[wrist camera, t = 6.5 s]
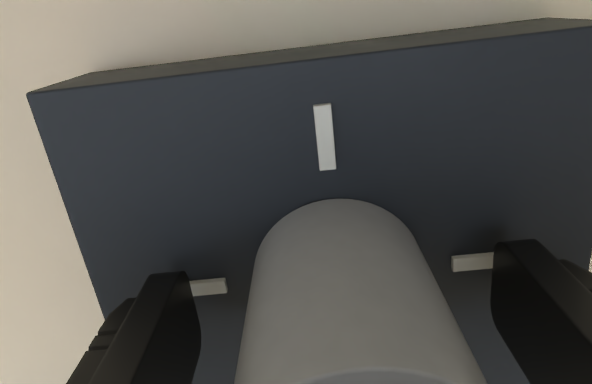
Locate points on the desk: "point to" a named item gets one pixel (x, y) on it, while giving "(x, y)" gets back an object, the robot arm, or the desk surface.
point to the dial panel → (330, 163)
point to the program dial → (348, 305)
